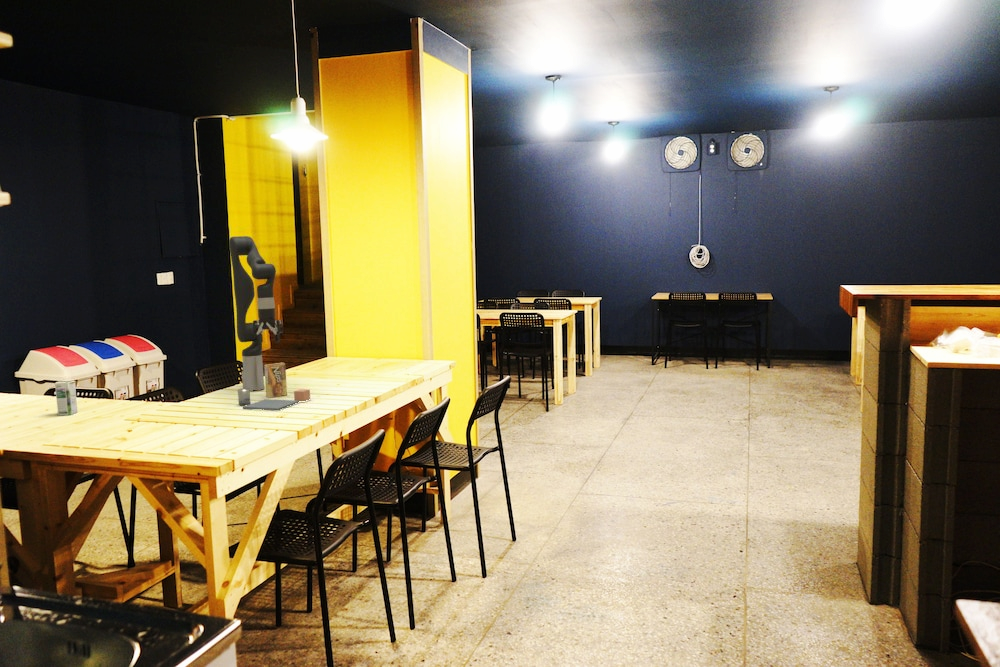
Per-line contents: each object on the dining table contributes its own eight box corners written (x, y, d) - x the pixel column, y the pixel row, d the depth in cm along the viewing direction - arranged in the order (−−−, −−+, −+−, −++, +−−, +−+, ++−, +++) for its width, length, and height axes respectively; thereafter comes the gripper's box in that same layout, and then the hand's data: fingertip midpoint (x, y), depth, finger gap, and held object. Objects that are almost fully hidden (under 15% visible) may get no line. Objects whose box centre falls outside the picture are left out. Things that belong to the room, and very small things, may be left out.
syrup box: (57, 415, 324) (54, 382, 322) (65, 412, 329) (62, 380, 328) (70, 415, 324) (67, 382, 322) (78, 412, 329) (75, 379, 328)
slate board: (242, 409, 326) (242, 406, 326) (265, 401, 341) (264, 399, 341) (278, 410, 320) (278, 408, 320) (299, 402, 335) (299, 400, 335)
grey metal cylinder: (236, 405, 333) (235, 390, 332) (243, 403, 338) (242, 388, 337) (245, 406, 332) (244, 390, 331) (252, 403, 336) (251, 388, 336)
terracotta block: (294, 402, 338) (293, 391, 337) (300, 399, 343) (300, 389, 342) (304, 402, 336) (303, 391, 336) (310, 400, 341) (309, 389, 340)
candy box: (283, 394, 357) (281, 362, 355) (287, 395, 354) (285, 363, 352) (265, 396, 352) (263, 364, 350) (269, 398, 348) (267, 365, 347)
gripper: (284, 306, 345) (286, 341, 347) (257, 307, 349) (260, 341, 351) (275, 308, 338) (277, 343, 340) (247, 308, 342) (250, 343, 344)
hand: (268, 342), depth 345 cm, fingers open, 8 cm apart
